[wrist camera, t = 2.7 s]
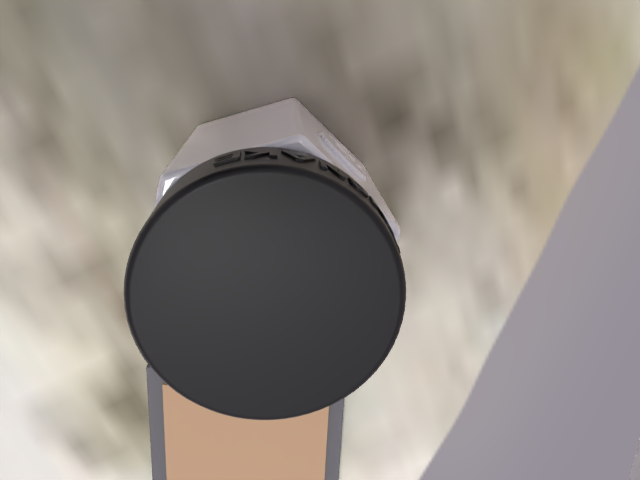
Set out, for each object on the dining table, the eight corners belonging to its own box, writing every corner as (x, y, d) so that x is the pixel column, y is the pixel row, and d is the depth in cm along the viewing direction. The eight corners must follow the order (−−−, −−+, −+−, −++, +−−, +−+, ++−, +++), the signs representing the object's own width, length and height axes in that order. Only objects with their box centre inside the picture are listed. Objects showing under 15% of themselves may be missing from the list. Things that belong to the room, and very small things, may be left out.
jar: (399, 193, 29) (476, 304, 18) (281, 307, 31) (284, 474, 20) (260, 56, 27) (247, 85, 15) (139, 188, 28) (48, 302, 17)
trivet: (157, 514, 35) (154, 529, 34) (149, 359, 31) (145, 370, 30) (334, 511, 35) (335, 526, 34) (344, 360, 32) (346, 372, 31)
